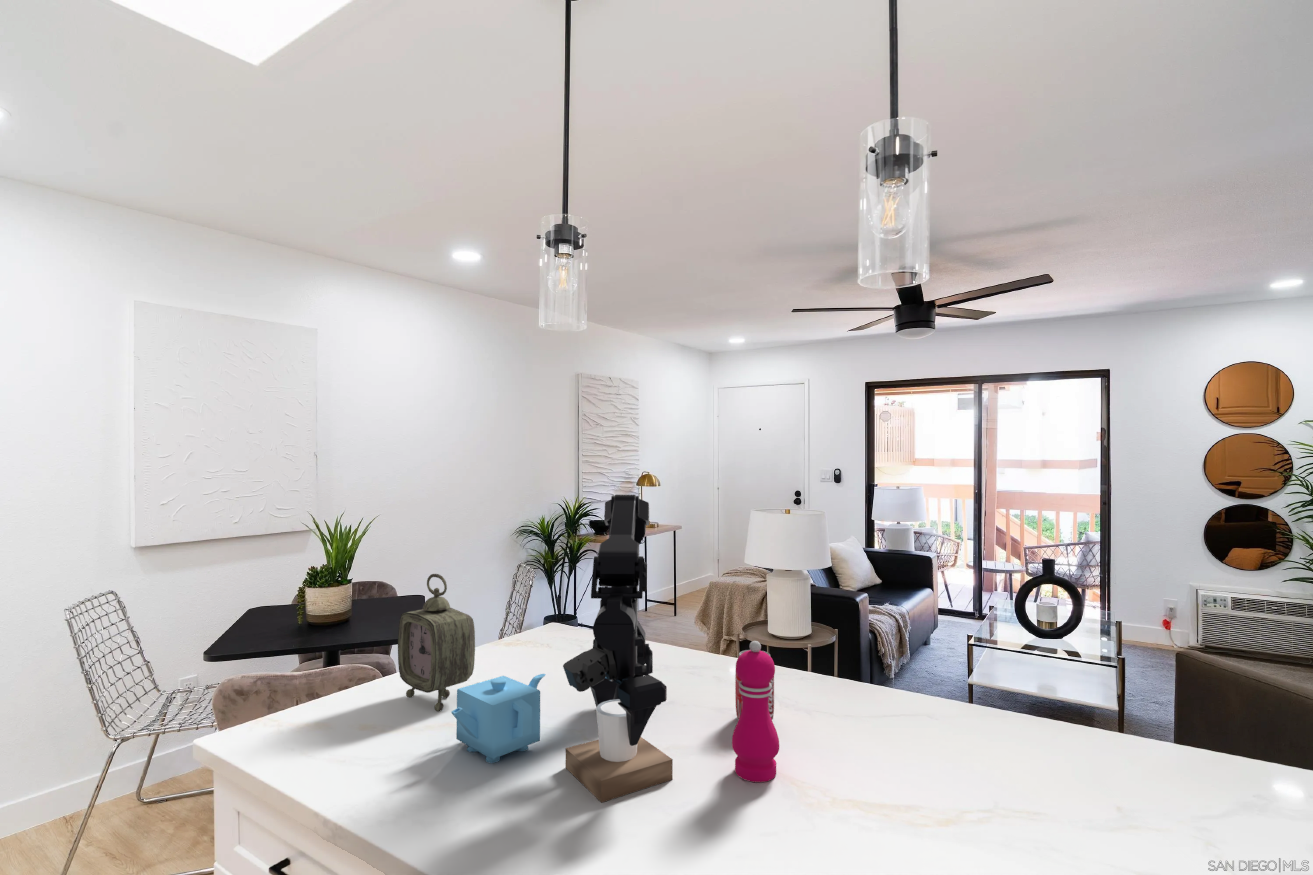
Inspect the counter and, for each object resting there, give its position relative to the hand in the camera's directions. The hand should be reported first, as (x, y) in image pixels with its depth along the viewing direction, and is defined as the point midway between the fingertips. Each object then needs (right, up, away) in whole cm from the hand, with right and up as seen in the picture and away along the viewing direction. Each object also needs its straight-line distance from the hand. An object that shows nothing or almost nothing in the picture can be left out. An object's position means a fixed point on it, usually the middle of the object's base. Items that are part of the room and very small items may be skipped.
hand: (618, 733), depth 98 cm
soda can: (+24, -7, +20) cm, 32 cm away
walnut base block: (0, -6, 0) cm, 6 cm away
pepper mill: (+21, -6, 0) cm, 22 cm away
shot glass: (0, -3, 0) cm, 3 cm away
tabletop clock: (-38, -7, +29) cm, 48 cm away
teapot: (-20, -7, +8) cm, 23 cm away
